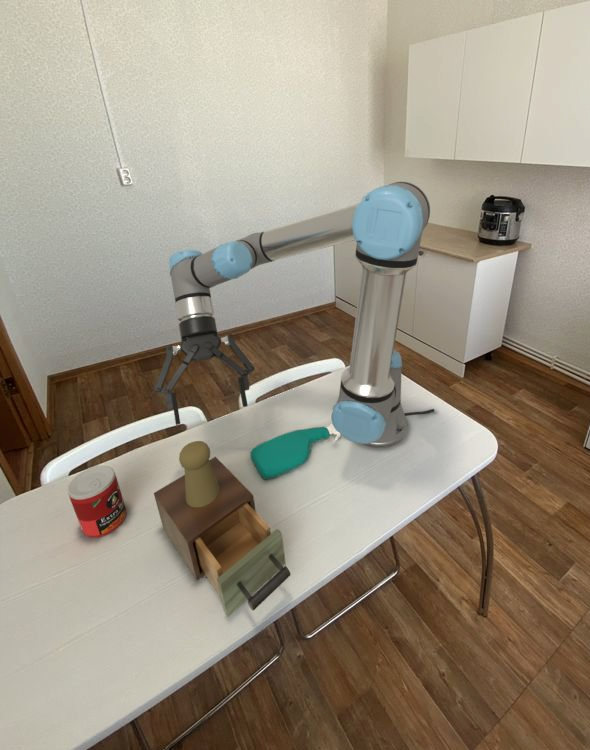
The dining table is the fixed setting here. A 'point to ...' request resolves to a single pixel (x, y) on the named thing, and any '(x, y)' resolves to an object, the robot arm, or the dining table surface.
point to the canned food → (97, 501)
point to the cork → (198, 474)
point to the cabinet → (198, 512)
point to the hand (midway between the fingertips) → (213, 415)
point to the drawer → (242, 559)
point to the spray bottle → (288, 450)
